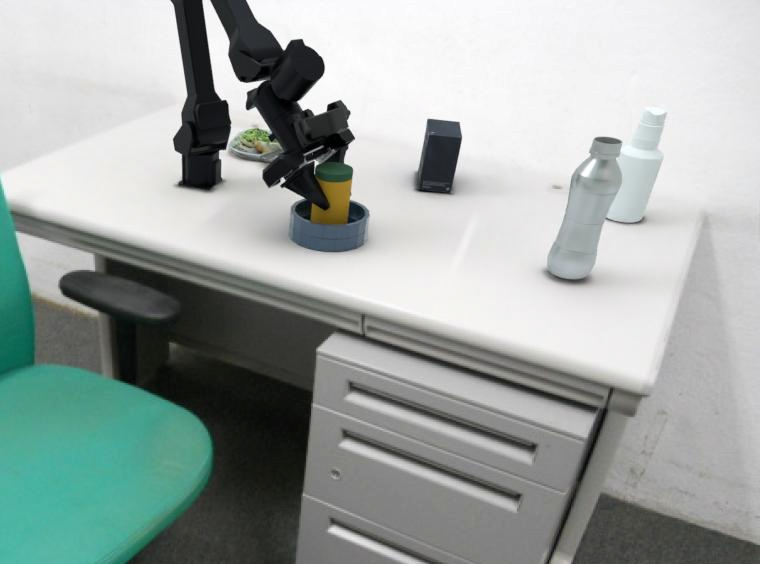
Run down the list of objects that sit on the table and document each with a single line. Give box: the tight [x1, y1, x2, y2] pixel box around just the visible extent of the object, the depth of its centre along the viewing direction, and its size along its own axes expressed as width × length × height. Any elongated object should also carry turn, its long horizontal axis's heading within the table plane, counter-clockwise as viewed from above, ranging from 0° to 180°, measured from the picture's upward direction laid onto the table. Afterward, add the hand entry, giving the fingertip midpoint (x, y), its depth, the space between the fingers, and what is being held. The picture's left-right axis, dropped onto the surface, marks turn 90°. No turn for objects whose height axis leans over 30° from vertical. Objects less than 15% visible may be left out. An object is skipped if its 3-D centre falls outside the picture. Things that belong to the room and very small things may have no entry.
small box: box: [416, 118, 463, 194], centre depth 144 cm, size 11×6×10 cm, turn 168°
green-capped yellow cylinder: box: [311, 162, 354, 225], centre depth 121 cm, size 6×6×11 cm
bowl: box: [288, 198, 371, 253], centre depth 123 cm, size 12×12×5 cm
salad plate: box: [227, 127, 284, 163], centre depth 159 cm, size 19×18×5 cm
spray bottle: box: [606, 106, 669, 223], centre depth 130 cm, size 7×7×18 cm
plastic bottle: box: [546, 136, 623, 280], centre depth 110 cm, size 6×7×20 cm
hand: (338, 203), depth 120 cm, fingers open, 6 cm apart
